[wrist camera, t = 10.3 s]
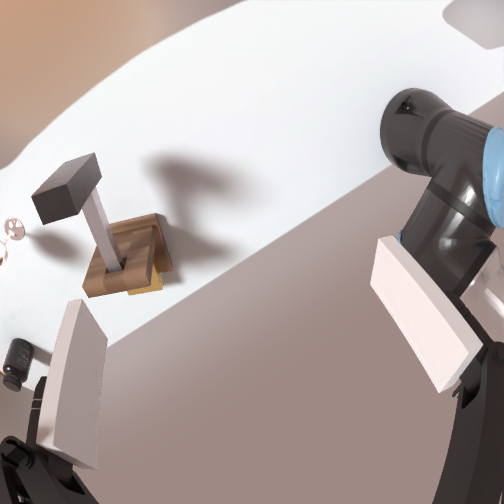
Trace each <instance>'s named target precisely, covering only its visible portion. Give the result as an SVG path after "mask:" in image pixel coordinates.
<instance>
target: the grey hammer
mask: <svg viewBox="0 0 504 504" xmlns="http://www.w3.org/2000/svg"><path fill="white" fill-rule="evenodd" d="M101 177H102V175H101V172H100V169H99V166H98V162H97V159H96V156H95V153H91V154H88V155H85V156H82V157H79V158H76V159H74V160H71V161H68V162H65V163H64V164H63V165H62V166H61V167H59V168H58V169H57V170H56V171H55V172H54V173H53V174H52V175H51V176H50V177H49V178H48V179H47V180H46V181H45V182H44V183H43V184H42V185H41V186H40V188H39V189H38V190H37V191H36V192H35V193H34V194H33V195H32V196H31V197H32V200H33V202H34V205H35V207H36V210H37V212H38V214H39V217H40V219H41V221H42V223H43V225H45V224H48V223H51V222H55V221H58V220H61V219H64V218H68V217H71V216H74V215H78V214H79V212H80V210H81V209H82V210H83V212H84V215H85V218H86V220H87V223H88V225H89V227H90V230H91V232H92V235H93V237H94V239H95V242H96V244H97V246H98V249H99V251H100V253H101V255H102V257H103V260H104V262H105V264H106V266H107V268H108V270H109V273H112V272H117V271H122V270H124V269H125V262H124V260H123V258H122V255H121V253H120V251H119V248H118V246H117V243H116V241H115V238H114V236H113V233H112V231H111V228H110V225H109V223H108V220H107V217H106V215H105V212H104V209H103V207H102V204H101V201H100V198H99V195H98V192H97V189H96V185H97V183H98V182H99V180H100V179H101Z"/></svg>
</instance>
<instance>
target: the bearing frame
mask: <svg viewBox="0 0 504 504" xmlns="http://www.w3.org/2000/svg"><path fill="white" fill-rule="evenodd" d="M109 225H110V228H111V231H112V233H113V236H114V238H115V241H116V243H117V246H118V248H119V251H120V253H121V255H122V258H123V260H124V262H125V269H124V270H122V271H117V272H112V273H109V270H108V268H107V266H106V264H105V262H104V260H103V257H102V255H101V253H100V251H99V249H98V246H97V247H96V249H95V252H94V254H93V257H92V260H91V263H90V265H89V268H88V271H87V274H86V277H85V279H84V282H83V285H82V287H83V289H84V291H85V292H86V294H87V296H88V298H91V297H97V296H102V295H107V294H113V293H118V292H123V291H128V290H133V289H139V288H144V287H149V286H151V277H152V268H153V259H154V258H155V260H156V263H157V266H158V269H159V272H160V273H161V272H166V271H171V270H172V263H171V260H170V257H169V254H168V251H167V248H166V245H165V242H164V239H163V236H162V232H161V229H160V226H159V223H158V219H157V216H156V213H154V214H149V215H145V216H141V217H137V218H132V219H128V220H124V221H120V222H116V223H112V224H109Z"/></svg>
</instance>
